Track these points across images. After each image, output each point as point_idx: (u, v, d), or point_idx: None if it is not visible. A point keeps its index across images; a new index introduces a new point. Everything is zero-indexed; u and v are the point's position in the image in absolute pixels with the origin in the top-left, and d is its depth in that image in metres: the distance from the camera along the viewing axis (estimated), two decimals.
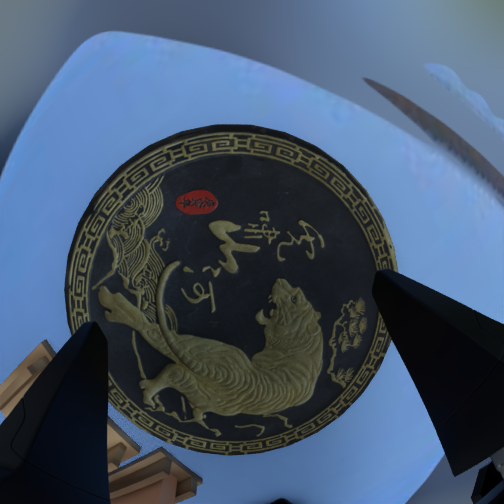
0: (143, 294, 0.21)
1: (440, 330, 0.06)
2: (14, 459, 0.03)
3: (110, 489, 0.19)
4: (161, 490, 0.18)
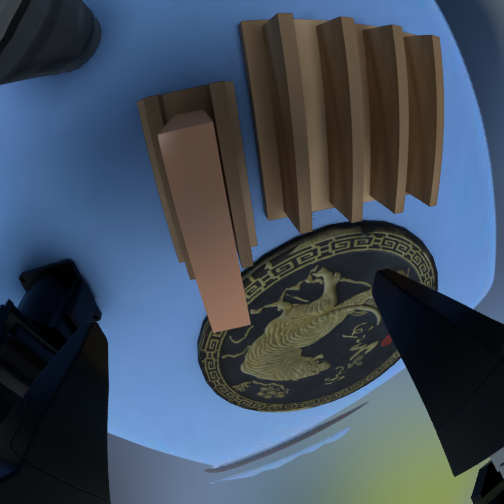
0: None
1: (440, 330, 0.06)
2: (14, 459, 0.03)
3: None
4: None
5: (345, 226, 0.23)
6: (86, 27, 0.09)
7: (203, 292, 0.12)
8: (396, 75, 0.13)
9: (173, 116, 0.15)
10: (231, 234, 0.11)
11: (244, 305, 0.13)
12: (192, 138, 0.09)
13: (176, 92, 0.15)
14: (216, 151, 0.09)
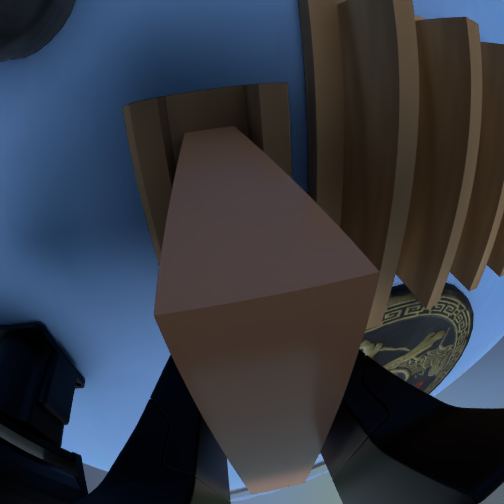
0: (414, 361, 0.22)
1: None
2: (177, 479, 0.03)
3: None
4: None
5: (398, 291, 0.17)
6: None
7: (249, 482, 0.06)
8: None
9: (184, 138, 0.08)
10: (320, 443, 0.04)
11: (304, 477, 0.06)
12: (295, 325, 0.02)
13: (190, 94, 0.09)
14: (354, 347, 0.03)
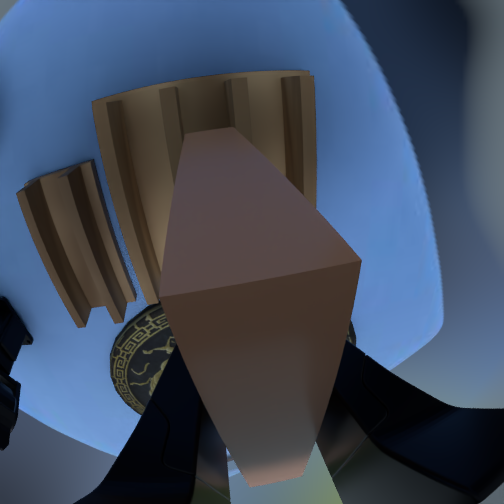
0: None
1: None
2: (177, 479, 0.03)
3: (85, 220, 0.16)
4: None
5: None
6: None
7: (247, 473, 0.06)
8: None
9: (185, 139, 0.09)
10: (315, 431, 0.05)
11: (301, 469, 0.07)
12: (285, 309, 0.03)
13: (49, 176, 0.16)
14: (342, 332, 0.03)
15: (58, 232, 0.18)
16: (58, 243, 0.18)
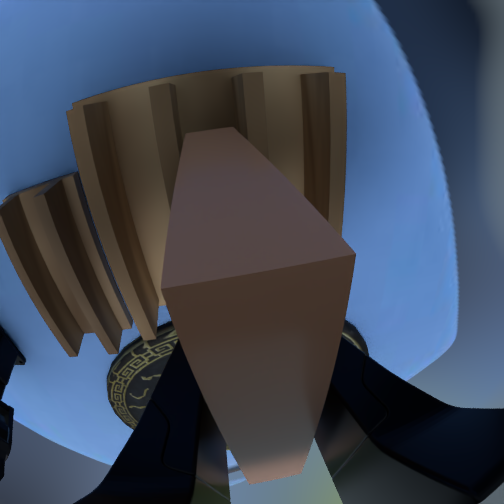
0: None
1: None
2: (177, 479, 0.03)
3: (69, 245, 0.14)
4: None
5: None
6: None
7: (246, 469, 0.06)
8: None
9: (185, 138, 0.09)
10: (314, 427, 0.05)
11: (300, 466, 0.07)
12: (282, 301, 0.03)
13: (28, 191, 0.13)
14: (339, 325, 0.03)
15: (43, 254, 0.15)
16: (42, 266, 0.15)
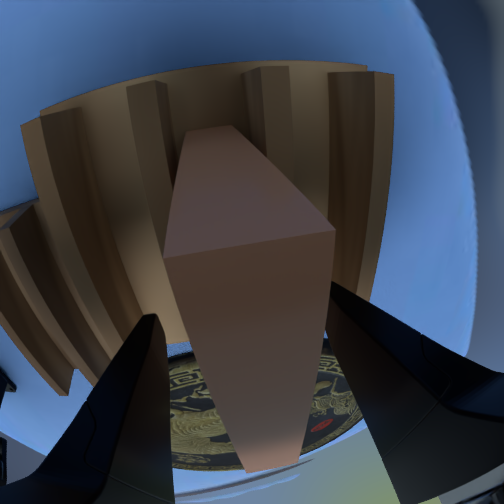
0: None
1: (377, 356, 0.06)
2: (92, 476, 0.03)
3: (46, 284, 0.11)
4: None
5: None
6: None
7: (243, 455, 0.06)
8: None
9: (185, 136, 0.09)
10: (307, 408, 0.05)
11: (296, 454, 0.07)
12: (270, 272, 0.03)
13: None
14: (324, 299, 0.04)
15: (21, 288, 0.12)
16: (21, 302, 0.12)
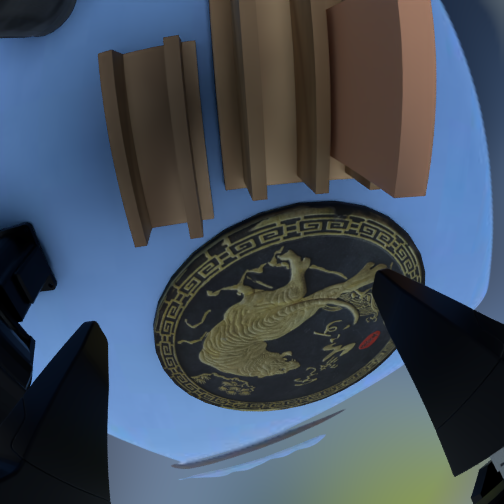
0: (359, 297, 0.26)
1: (440, 330, 0.06)
2: (14, 459, 0.03)
3: (184, 94, 0.13)
4: None
5: (316, 205, 0.21)
6: None
7: (403, 136, 0.09)
8: None
9: None
10: (434, 83, 0.08)
11: (428, 167, 0.10)
12: None
13: (137, 52, 0.13)
14: (431, 14, 0.06)
15: (132, 120, 0.15)
16: (130, 131, 0.15)
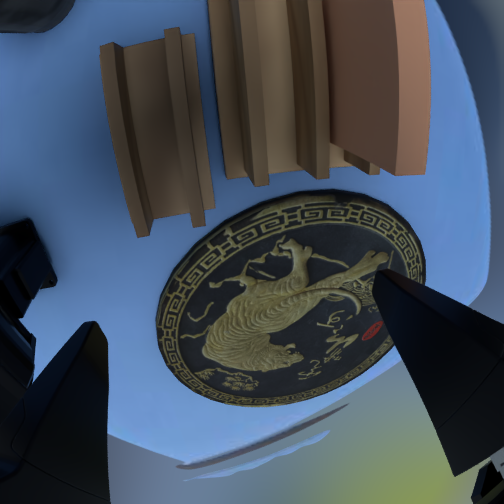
0: (361, 286, 0.26)
1: (440, 330, 0.06)
2: (14, 459, 0.03)
3: (185, 84, 0.13)
4: None
5: (317, 193, 0.21)
6: None
7: (401, 116, 0.09)
8: None
9: None
10: (429, 66, 0.08)
11: (426, 146, 0.10)
12: None
13: (137, 45, 0.13)
14: (423, 1, 0.06)
15: (133, 112, 0.15)
16: (131, 122, 0.15)
